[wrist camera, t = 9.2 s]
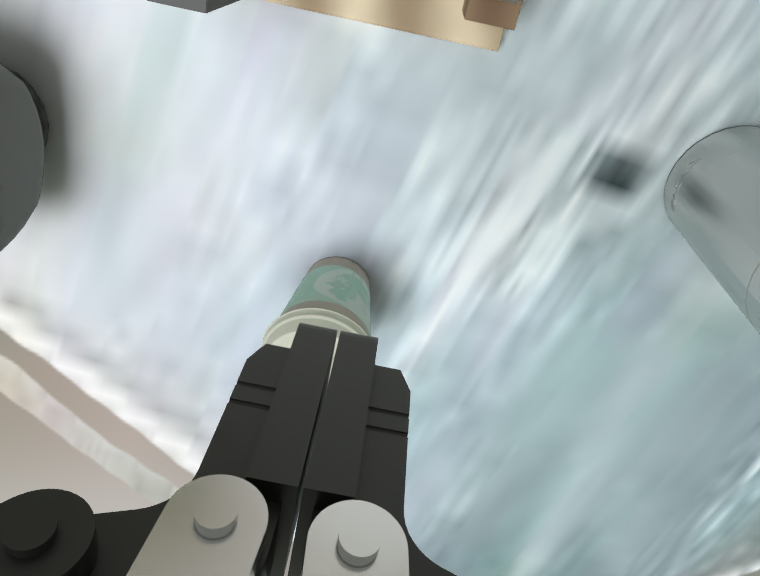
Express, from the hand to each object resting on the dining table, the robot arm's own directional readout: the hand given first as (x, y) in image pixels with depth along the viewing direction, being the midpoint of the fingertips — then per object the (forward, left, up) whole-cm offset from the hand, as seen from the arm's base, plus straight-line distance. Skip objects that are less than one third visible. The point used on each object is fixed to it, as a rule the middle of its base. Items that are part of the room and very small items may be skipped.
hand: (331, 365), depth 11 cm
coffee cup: (+2, +21, -35) cm, 41 cm away
